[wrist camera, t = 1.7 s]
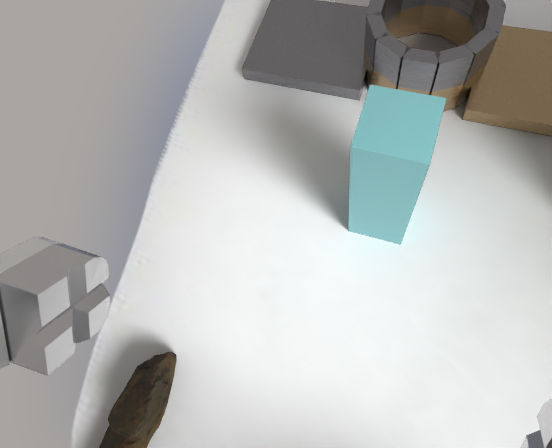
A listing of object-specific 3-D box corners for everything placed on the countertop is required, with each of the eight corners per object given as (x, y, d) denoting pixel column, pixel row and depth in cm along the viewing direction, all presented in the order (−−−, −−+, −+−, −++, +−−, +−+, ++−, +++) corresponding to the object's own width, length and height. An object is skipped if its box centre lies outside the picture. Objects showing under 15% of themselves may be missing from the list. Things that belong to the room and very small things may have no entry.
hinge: (619, 51, 41) (669, -14, 35) (608, 150, 38) (661, 100, 32) (276, 3, 49) (266, -57, 43) (243, 81, 46) (227, 30, 40)
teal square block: (412, 197, 39) (446, 98, 26) (400, 244, 38) (429, 164, 25) (361, 185, 40) (370, 84, 27) (348, 230, 39) (350, 147, 26)
